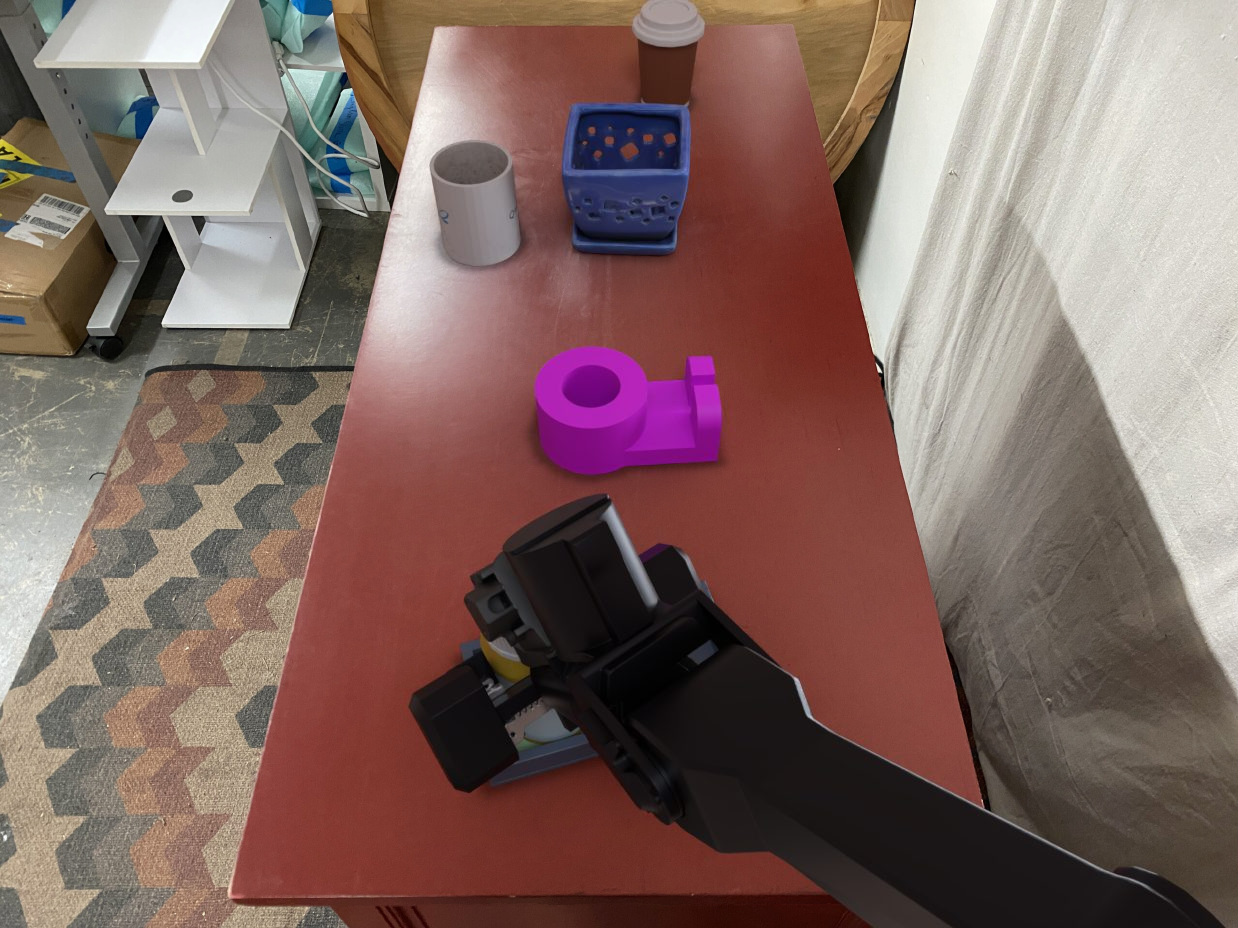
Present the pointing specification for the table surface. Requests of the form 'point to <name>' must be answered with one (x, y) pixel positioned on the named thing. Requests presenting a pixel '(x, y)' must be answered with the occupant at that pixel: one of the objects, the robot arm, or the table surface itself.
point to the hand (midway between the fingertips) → (526, 636)
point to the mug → (476, 201)
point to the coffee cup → (667, 49)
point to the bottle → (510, 673)
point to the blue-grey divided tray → (567, 749)
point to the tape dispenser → (624, 412)
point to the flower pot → (626, 176)
